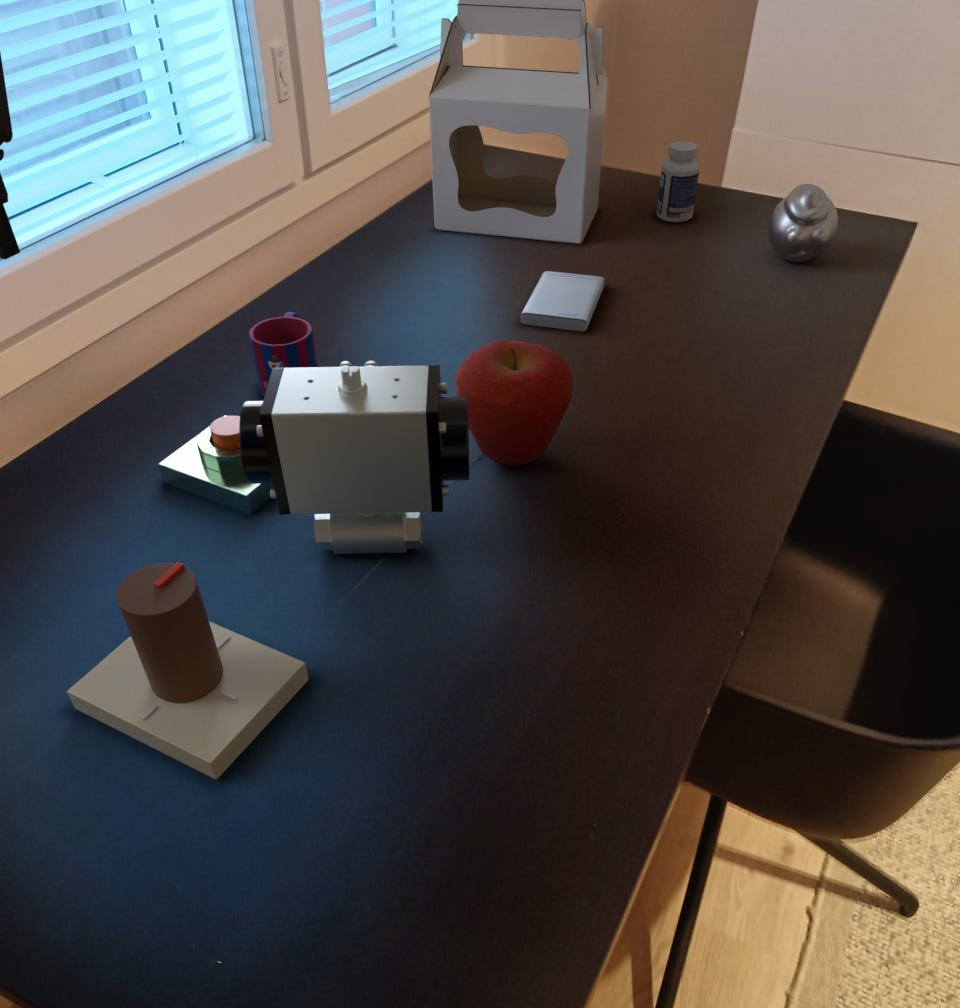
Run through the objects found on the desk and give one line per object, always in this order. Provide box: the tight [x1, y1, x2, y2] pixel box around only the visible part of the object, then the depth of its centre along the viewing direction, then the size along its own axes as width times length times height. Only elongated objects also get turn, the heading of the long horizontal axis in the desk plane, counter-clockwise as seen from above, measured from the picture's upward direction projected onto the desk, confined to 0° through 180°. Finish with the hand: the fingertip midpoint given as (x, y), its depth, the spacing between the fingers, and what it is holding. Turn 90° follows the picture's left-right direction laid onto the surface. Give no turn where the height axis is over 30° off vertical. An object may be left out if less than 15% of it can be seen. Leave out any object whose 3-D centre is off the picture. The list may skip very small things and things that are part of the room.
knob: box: [115, 561, 223, 703], centre depth 67 cm, size 5×5×9 cm
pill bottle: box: [655, 140, 701, 223], centre depth 134 cm, size 5×5×10 cm
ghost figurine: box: [767, 183, 839, 263], centre depth 123 cm, size 9×10×10 cm
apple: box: [454, 340, 574, 467], centre depth 89 cm, size 11×11×12 cm
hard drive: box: [520, 270, 605, 332], centre depth 117 cm, size 2×8×12 cm
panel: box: [66, 621, 310, 781], centre depth 71 cm, size 14×11×2 cm
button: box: [209, 414, 240, 450], centre depth 89 cm, size 4×4×2 cm
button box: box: [157, 414, 274, 515], centre depth 91 cm, size 11×10×4 cm
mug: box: [248, 311, 319, 398], centre depth 103 cm, size 7×10×7 cm
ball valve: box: [239, 360, 470, 555], centre depth 78 cm, size 18×8×18 cm, turn 91°
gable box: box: [428, 0, 609, 245], centre depth 127 cm, size 22×13×28 cm, turn 75°
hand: (0, 252), depth 72 cm, fingers closed
